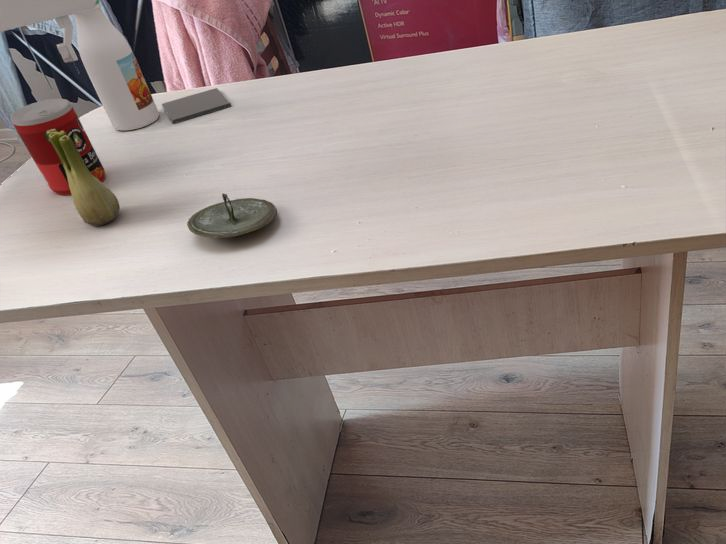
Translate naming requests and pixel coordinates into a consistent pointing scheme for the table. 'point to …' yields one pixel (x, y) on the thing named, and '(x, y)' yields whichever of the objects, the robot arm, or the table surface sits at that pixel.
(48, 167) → the canned food
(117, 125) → the milk bottle
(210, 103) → the coaster
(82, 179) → the fennel bulb
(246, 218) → the lid
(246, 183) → the table surface
